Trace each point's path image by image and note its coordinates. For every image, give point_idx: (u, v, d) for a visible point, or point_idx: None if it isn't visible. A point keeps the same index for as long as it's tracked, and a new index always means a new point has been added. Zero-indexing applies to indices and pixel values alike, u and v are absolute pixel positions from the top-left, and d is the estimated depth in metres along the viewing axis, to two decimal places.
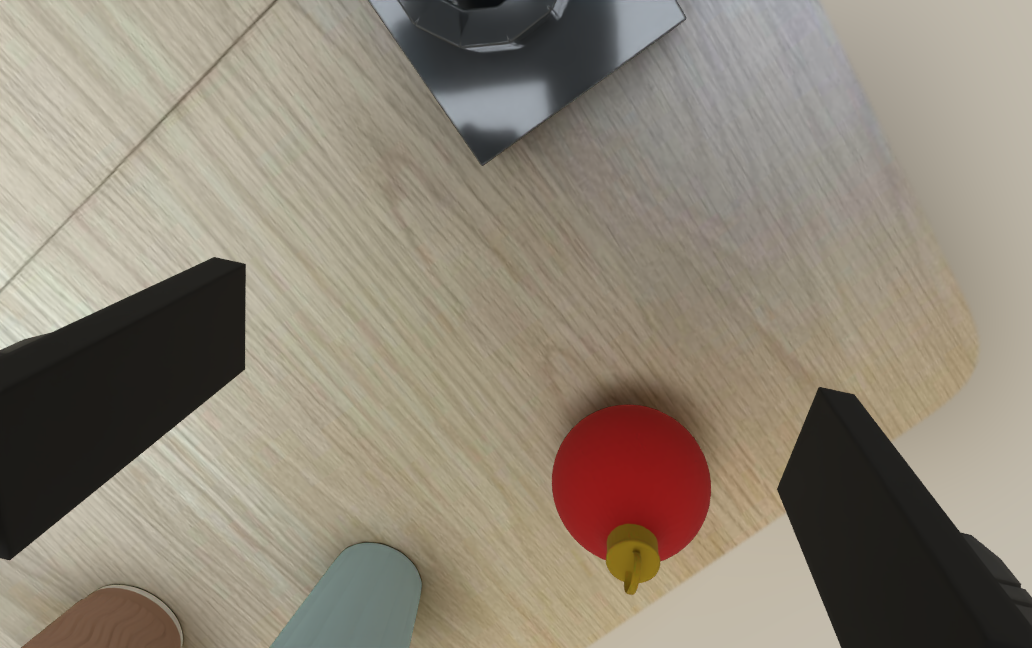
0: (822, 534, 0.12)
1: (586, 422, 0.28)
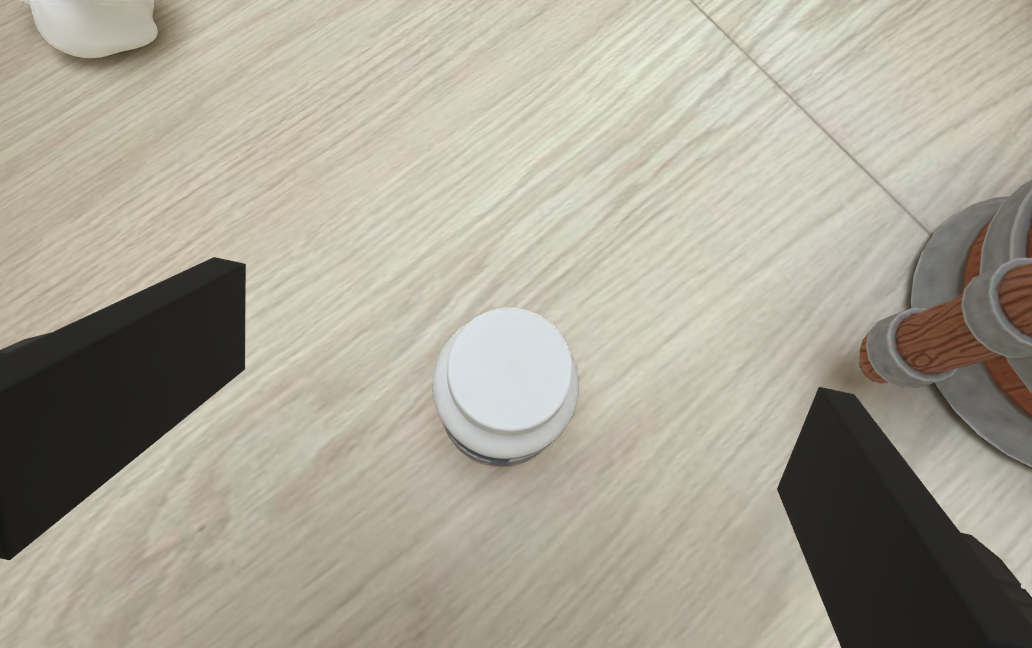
0: (822, 534, 0.12)
1: None
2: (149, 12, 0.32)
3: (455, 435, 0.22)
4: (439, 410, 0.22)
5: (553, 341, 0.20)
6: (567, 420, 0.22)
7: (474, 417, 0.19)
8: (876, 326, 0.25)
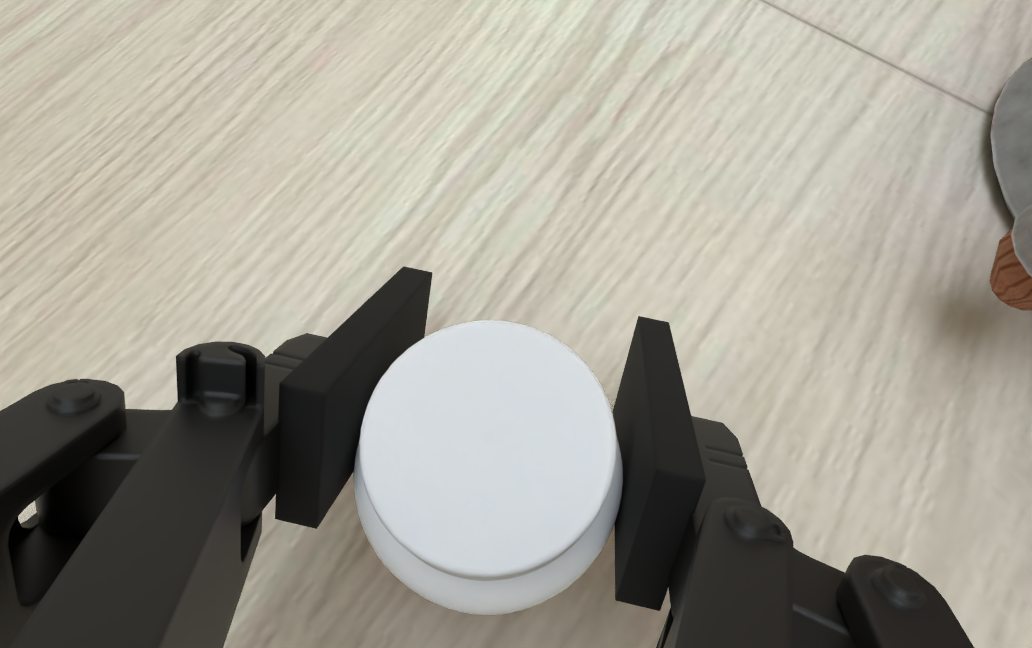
0: (621, 434, 0.14)
1: None
2: None
3: (420, 594, 0.11)
4: (379, 554, 0.11)
5: (557, 364, 0.10)
6: (617, 505, 0.12)
7: (441, 564, 0.09)
8: (1020, 223, 0.16)
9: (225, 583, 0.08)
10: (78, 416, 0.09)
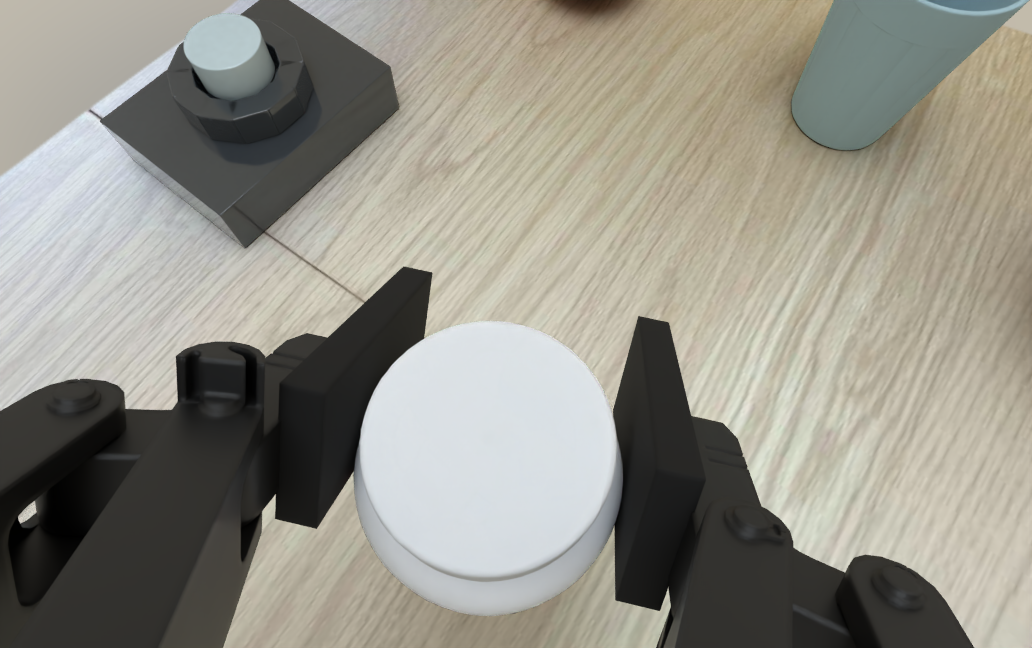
0: (621, 434, 0.14)
1: None
2: None
3: (421, 594, 0.11)
4: (379, 555, 0.11)
5: (558, 364, 0.10)
6: (617, 506, 0.12)
7: (442, 564, 0.09)
8: None
9: (225, 583, 0.08)
10: (77, 416, 0.09)
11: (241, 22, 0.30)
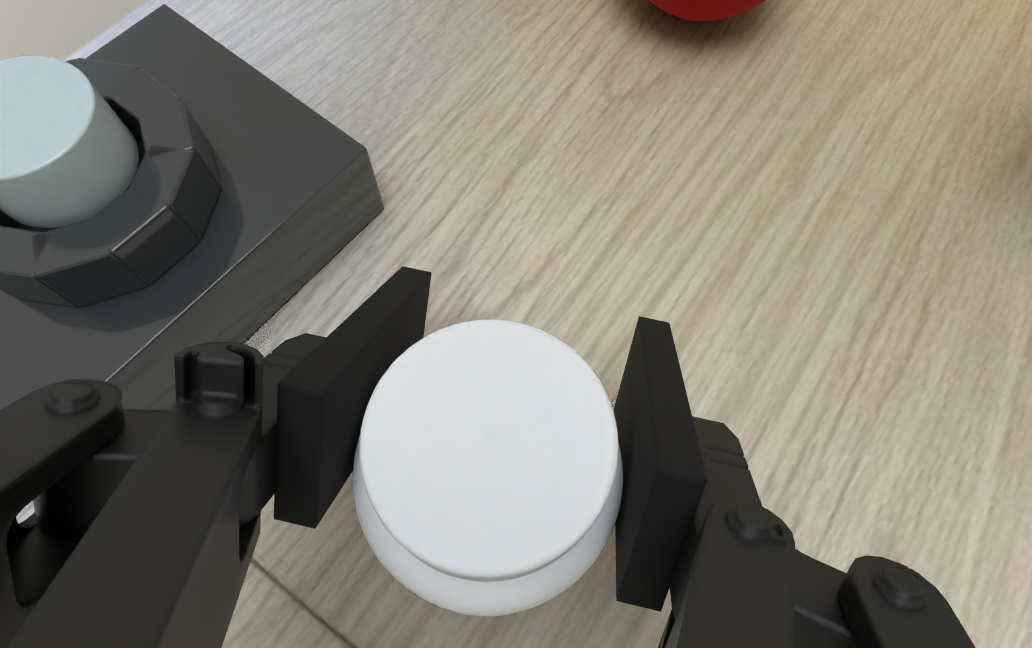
0: (622, 434, 0.14)
1: None
2: None
3: (420, 595, 0.11)
4: (378, 555, 0.11)
5: (559, 363, 0.10)
6: (617, 505, 0.12)
7: (442, 564, 0.09)
8: None
9: (223, 583, 0.08)
10: (76, 416, 0.09)
11: (56, 74, 0.15)
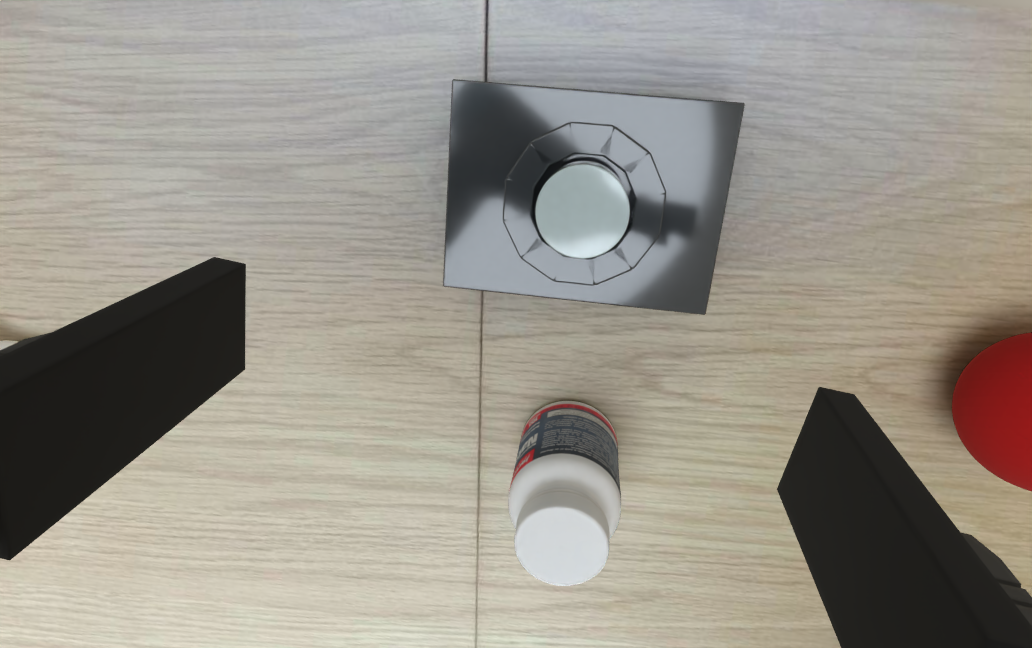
0: (822, 534, 0.12)
1: (962, 401, 0.28)
2: None
3: (509, 509, 0.29)
4: (511, 492, 0.29)
5: (599, 556, 0.26)
6: None
7: (517, 553, 0.27)
8: None
9: None
10: None
11: (618, 211, 0.24)
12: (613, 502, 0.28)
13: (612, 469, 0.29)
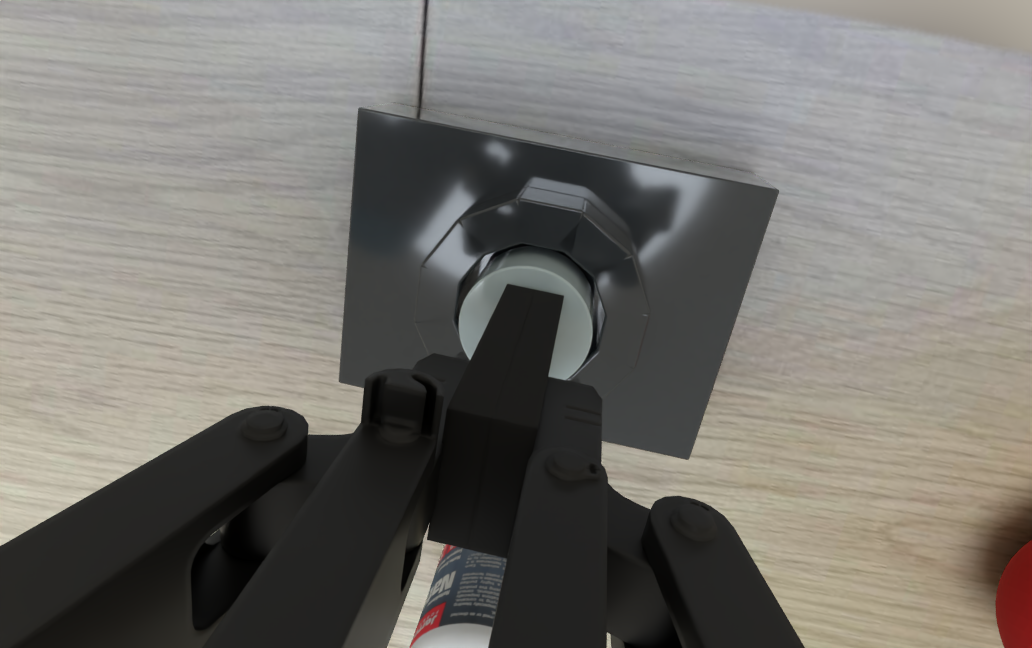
0: None
1: (1016, 605, 0.21)
2: None
3: None
4: None
5: None
6: None
7: None
8: None
9: (385, 614, 0.08)
10: (266, 446, 0.09)
11: (576, 335, 0.17)
12: None
13: None
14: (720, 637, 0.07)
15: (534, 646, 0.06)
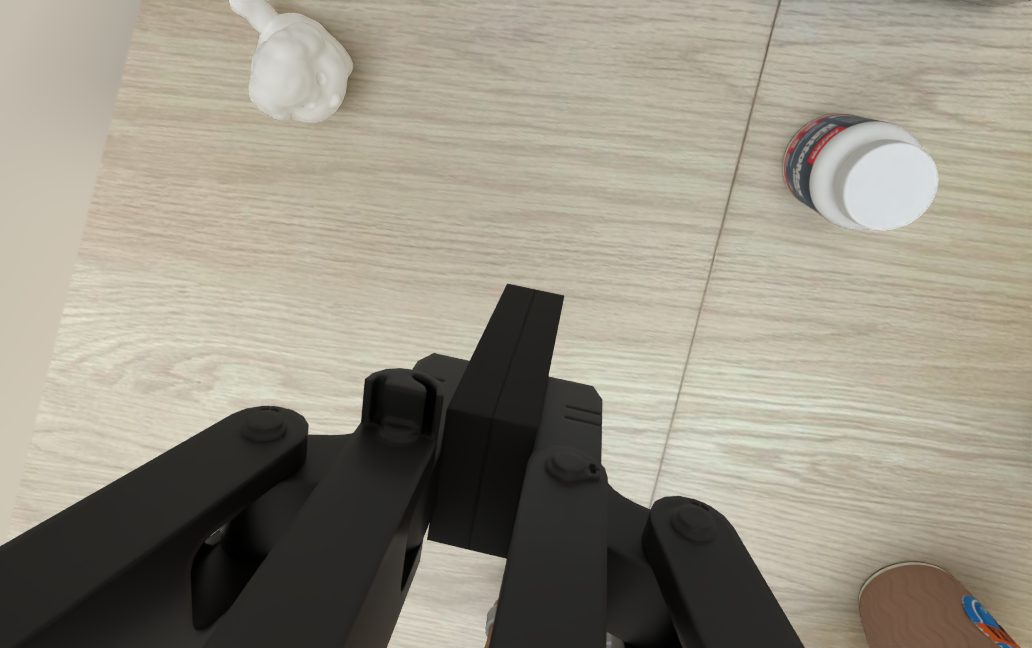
0: None
1: None
2: None
3: (813, 177, 0.31)
4: (822, 157, 0.31)
5: (926, 197, 0.28)
6: None
7: (844, 193, 0.29)
8: None
9: (385, 614, 0.08)
10: (266, 446, 0.09)
11: None
12: None
13: None
14: (720, 636, 0.07)
15: (534, 646, 0.06)
